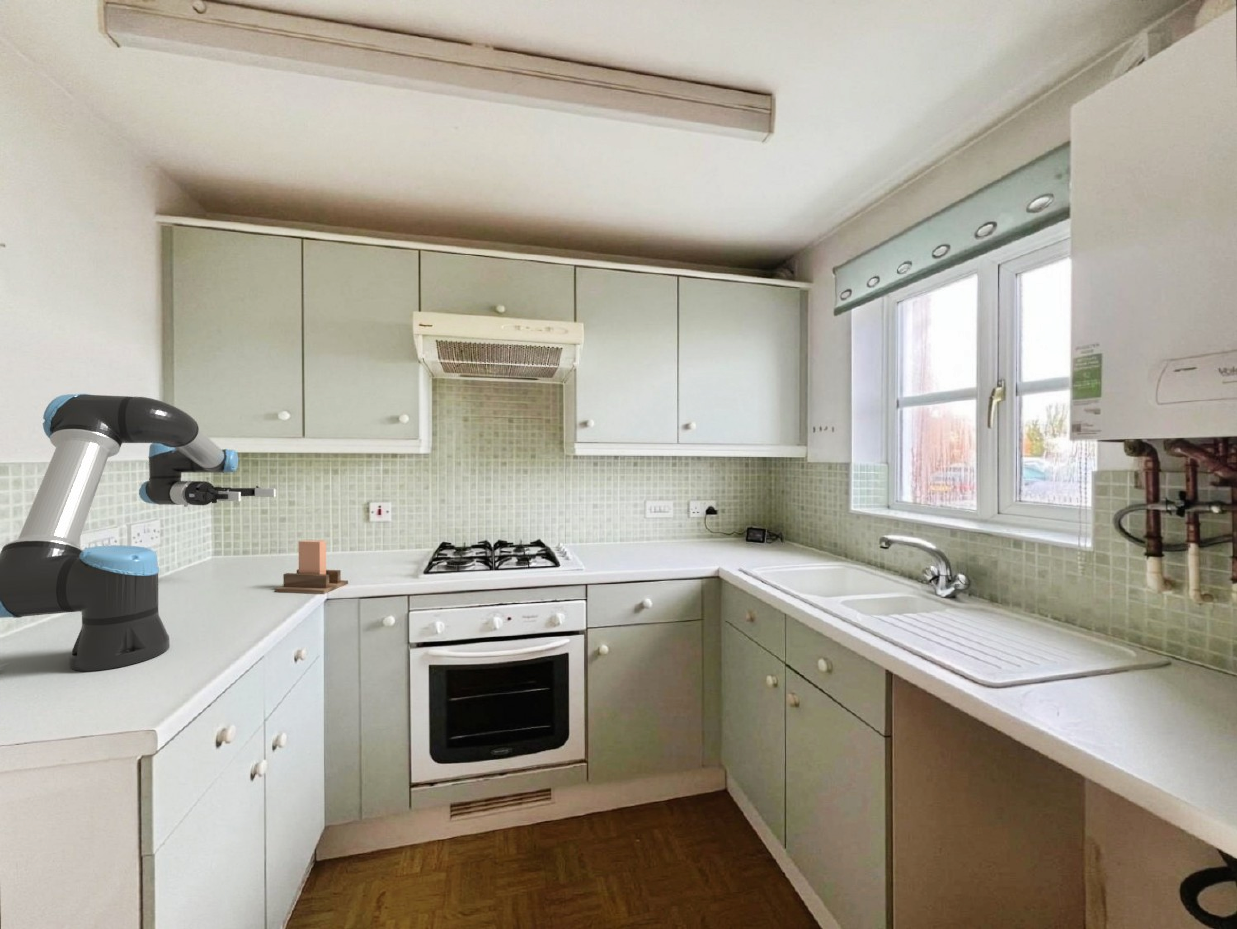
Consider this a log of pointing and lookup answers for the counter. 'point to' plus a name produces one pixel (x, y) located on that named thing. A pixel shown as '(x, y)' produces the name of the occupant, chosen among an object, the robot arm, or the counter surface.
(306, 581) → the slot rack
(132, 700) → the counter surface
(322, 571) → the salmon orange block
